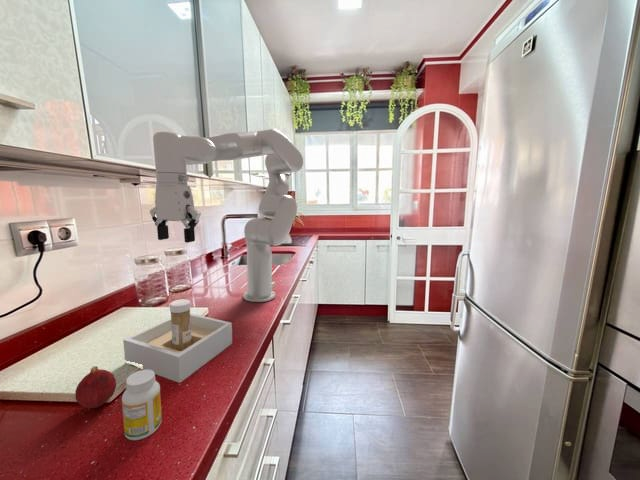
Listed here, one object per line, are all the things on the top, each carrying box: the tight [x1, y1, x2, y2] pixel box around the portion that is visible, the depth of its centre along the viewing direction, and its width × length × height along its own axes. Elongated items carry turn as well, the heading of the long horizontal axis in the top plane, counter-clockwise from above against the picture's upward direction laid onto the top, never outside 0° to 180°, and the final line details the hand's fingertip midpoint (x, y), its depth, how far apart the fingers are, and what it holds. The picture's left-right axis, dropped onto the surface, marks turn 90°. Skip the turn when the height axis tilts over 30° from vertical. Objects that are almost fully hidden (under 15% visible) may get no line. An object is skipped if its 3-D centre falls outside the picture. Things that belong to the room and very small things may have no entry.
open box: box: [122, 312, 233, 384], centre depth 67 cm, size 17×17×6 cm
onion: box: [74, 365, 117, 409], centre depth 49 cm, size 6×6×8 cm
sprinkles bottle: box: [169, 298, 192, 351], centre depth 66 cm, size 5×5×14 cm
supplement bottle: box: [121, 369, 163, 441], centre depth 45 cm, size 5×5×10 cm
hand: (176, 240), depth 76 cm, fingers open, 9 cm apart
